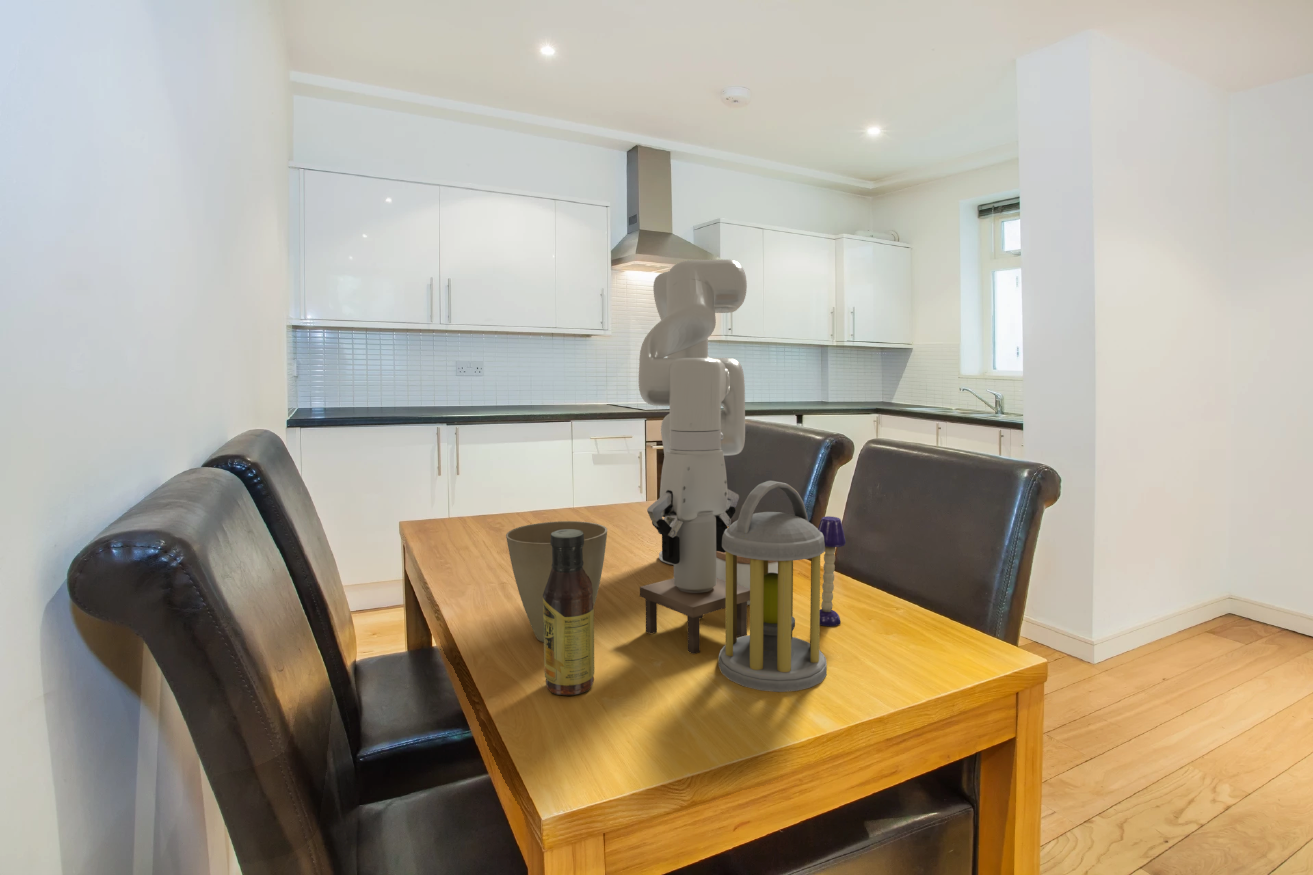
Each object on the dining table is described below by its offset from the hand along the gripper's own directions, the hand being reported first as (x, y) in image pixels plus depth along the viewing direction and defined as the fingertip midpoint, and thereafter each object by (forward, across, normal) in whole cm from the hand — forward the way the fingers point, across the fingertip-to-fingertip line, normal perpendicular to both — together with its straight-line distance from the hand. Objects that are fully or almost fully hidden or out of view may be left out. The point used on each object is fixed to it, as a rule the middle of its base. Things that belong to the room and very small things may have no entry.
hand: (695, 556), depth 100 cm
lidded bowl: (+12, -18, -6) cm, 22 cm away
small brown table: (+12, 0, 0) cm, 12 cm away
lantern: (+12, 0, +15) cm, 19 cm away
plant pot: (+12, +16, -13) cm, 24 cm away
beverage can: (+5, 0, 0) cm, 5 cm away
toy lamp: (+12, -19, +10) cm, 25 cm away
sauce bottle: (+12, +24, +3) cm, 27 cm away
